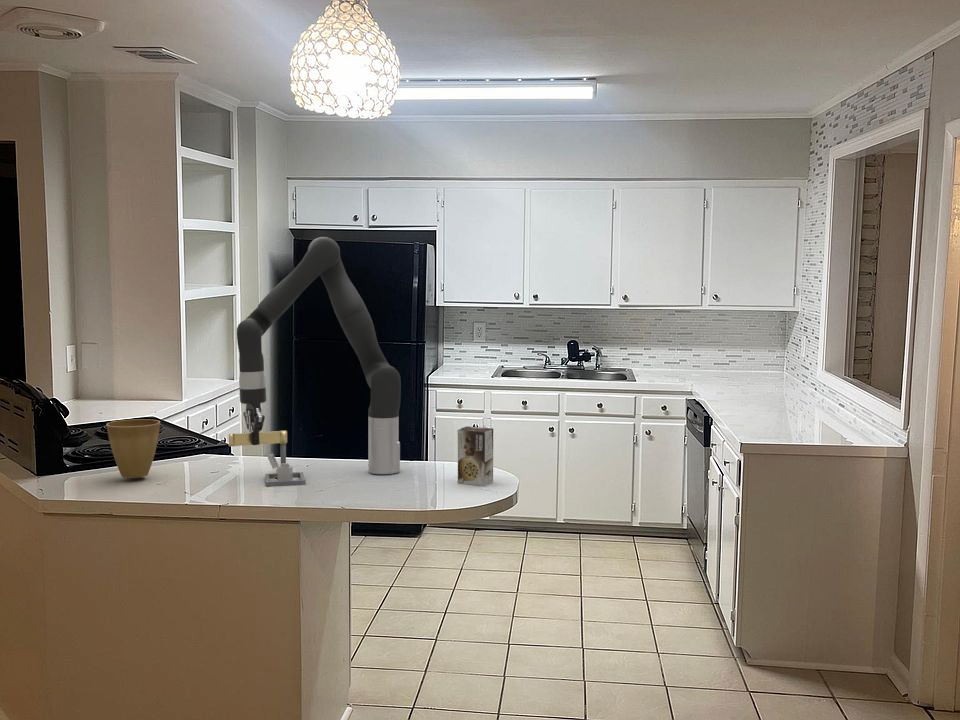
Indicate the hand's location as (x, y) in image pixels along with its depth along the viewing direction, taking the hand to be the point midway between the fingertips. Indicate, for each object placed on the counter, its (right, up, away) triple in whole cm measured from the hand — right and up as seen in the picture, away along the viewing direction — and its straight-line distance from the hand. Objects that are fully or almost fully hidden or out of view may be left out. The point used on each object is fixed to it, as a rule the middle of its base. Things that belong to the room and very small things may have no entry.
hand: (255, 444), depth 258 cm
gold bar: (0, 0, +3) cm, 3 cm away
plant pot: (-37, -10, +3) cm, 38 cm away
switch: (+9, -10, +1) cm, 13 cm away
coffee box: (+65, -11, -2) cm, 66 cm away
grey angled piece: (+8, -11, -2) cm, 13 cm away
